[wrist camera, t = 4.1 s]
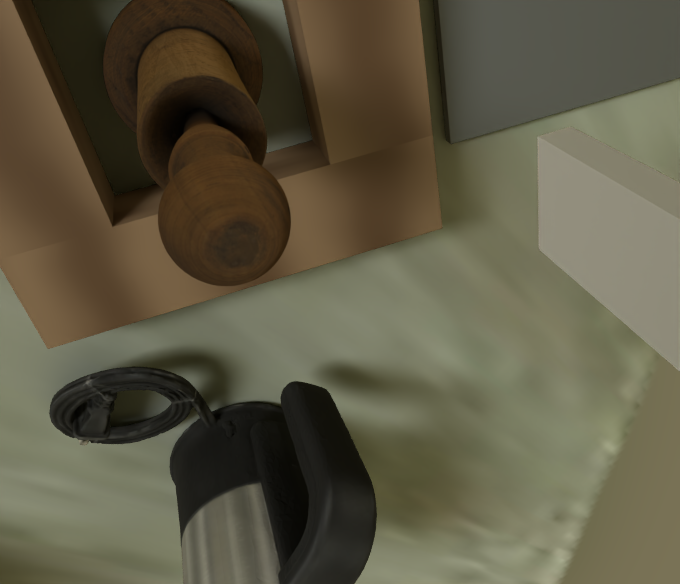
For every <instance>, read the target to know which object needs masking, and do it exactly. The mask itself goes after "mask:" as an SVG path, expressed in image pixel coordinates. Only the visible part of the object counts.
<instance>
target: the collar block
mask: <svg viewBox="0 0 680 584" xmlns="http://www.w3.org/2000/svg"><path fill="white" fill-rule="evenodd" d="M282 1H283V5H284V10H285V15H286V19H287V24H288V28H289V33H290V38H291V42H292V47H293V51H294V56H295V60H296V65H297V70H298V74H299V79H300V83H301V88H302V93H303V97H304V102H305V106H306V111H307V116H308V120H309V125H310V129H311V134H312V139H313V140H312V141H308V142H305V143H301V144H298V145H294V146H290V147H287V148H283V149H280V150H276V151H273V152H269V153H266V156H265V159H264V162H263V165H262V167H264V168H265V169H266V170H268V171H269V172H270V173H271V174H272V175H273V176H274V177H275V178H276V180H277V181H278V182H279V184H280V185H281V187H282V189H283V190H284V192H285V195H286V197H287V200H288V204H289V208H290V214H291V229H290V236H289V240H288V243H287V246H286V248H285V250H284V252H283V254H282V256H281V257H280V259H279V260H278V261H277V263H276V264H275V265H274V266H273V267H272V268H271V269H270V270H269V271H268V272H266V273H265V274H264V275H262V276H261V277H259V278H257V279H255V280H253V281H251V282H248V283H245V284H241V285H236V286H216V285H211V284H207V283H204V282H202V281H199V280H197V279H195V278H193V277H191V276H190V275H188V274H187V273H185V272H184V271H183V270H182V269H181V268H179V267H178V266H177V265H176V264H175V262H174V261H173V260H172V259H171V257H170V256H169V255H168V253H167V251H166V249H165V247H164V245H163V243H162V240H161V237H160V233H159V227H158V209H159V204H160V200H161V197H162V195H163V192H164V189H163V188H161V187H160V186H159V185H158V184H155V185H152V186H148V187H145V188H141V189H137V190H134V191H130V192H127V193H123V194H120V195H116V196H115V195H114V193H113V191H112V188H111V186H110V184H109V181H108V179H107V177H106V174H105V172H104V170H103V167H102V165H101V163H100V160H99V158H98V156H97V153H96V151H95V149H94V146H93V144H92V142H91V139H90V137H89V134H88V132H87V130H86V127H85V125H84V123H83V120H82V118H81V116H80V113H79V111H78V109H77V106H76V104H75V102H74V99H73V97H72V95H71V92H70V90H69V88H68V85H67V83H66V81H65V78H64V76H63V74H62V71H61V69H60V67H59V64H58V62H57V60H56V57H55V55H54V53H53V50H52V48H51V46H50V43H49V41H48V38H47V36H46V34H45V31H44V29H43V27H42V24H41V22H40V20H39V17H38V15H37V13H36V10H35V8H34V6H33V3H32V1H31V0H0V267H1V269H2V271H3V273H4V274H5V276H6V278H7V279H8V281H9V283H10V285H11V286H12V288H13V290H14V291H15V293H16V295H17V297H18V298H19V300H20V302H21V304H22V305H23V307H24V309H25V310H26V312H27V314H28V316H29V317H30V319H31V321H32V322H33V324H34V326H35V328H36V329H37V331H38V333H39V334H40V336H41V338H42V340H43V341H44V343H45V345H46V346H47V348H48V349H50V348H53V347H56V346H59V345H63V344H66V343H69V342H73V341H76V340H79V339H82V338H86V337H89V336H92V335H95V334H99V333H102V332H105V331H108V330H112V329H115V328H118V327H121V326H125V325H128V324H131V323H135V322H138V321H141V320H144V319H148V318H151V317H154V316H157V315H161V314H164V313H167V312H170V311H174V310H177V309H180V308H184V307H187V306H190V305H193V304H197V303H200V302H203V301H206V300H210V299H213V298H216V297H219V296H223V295H226V294H229V293H233V292H236V291H239V290H242V289H246V288H249V287H252V286H255V285H259V284H262V283H265V282H268V281H272V280H275V279H278V278H281V277H285V276H288V275H291V274H295V273H298V272H301V271H304V270H308V269H311V268H314V267H317V266H321V265H324V264H327V263H330V262H334V261H337V260H340V259H344V258H347V257H350V256H353V255H357V254H360V253H363V252H366V251H370V250H373V249H376V248H379V247H383V246H386V245H389V244H393V243H396V242H399V241H402V240H406V239H409V238H412V237H415V236H419V235H422V234H425V233H428V232H432V231H435V230H438V229H441V228H442V219H441V210H440V200H439V190H438V181H437V171H436V162H435V152H434V142H433V133H432V123H431V114H430V104H429V94H428V85H427V75H426V66H425V56H424V46H423V37H422V27H421V18H420V8H419V0H282Z"/></svg>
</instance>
